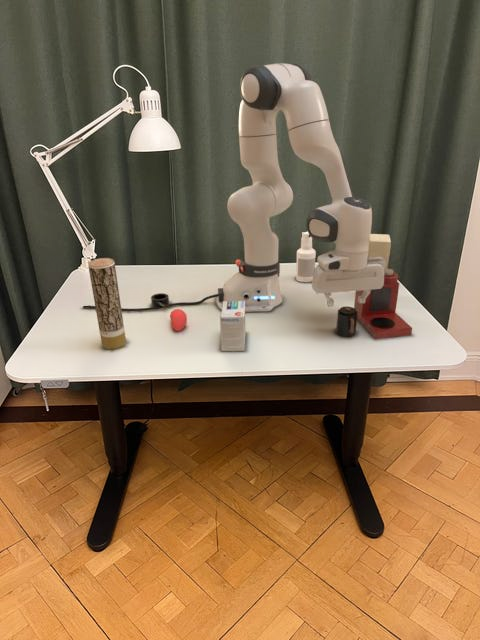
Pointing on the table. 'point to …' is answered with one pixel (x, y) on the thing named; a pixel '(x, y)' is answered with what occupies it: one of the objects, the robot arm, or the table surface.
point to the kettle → (346, 322)
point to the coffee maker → (365, 307)
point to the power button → (388, 272)
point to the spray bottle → (305, 259)
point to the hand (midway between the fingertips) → (345, 304)
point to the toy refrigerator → (379, 247)
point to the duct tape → (160, 300)
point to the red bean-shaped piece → (178, 319)
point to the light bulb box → (232, 326)
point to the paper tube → (107, 302)
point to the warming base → (384, 318)
